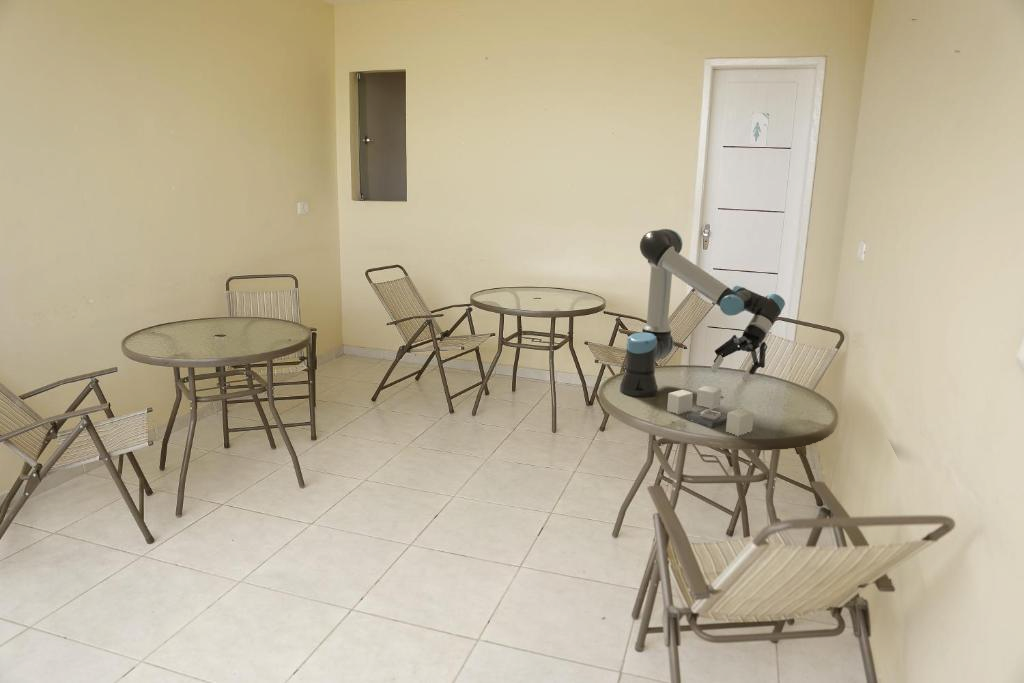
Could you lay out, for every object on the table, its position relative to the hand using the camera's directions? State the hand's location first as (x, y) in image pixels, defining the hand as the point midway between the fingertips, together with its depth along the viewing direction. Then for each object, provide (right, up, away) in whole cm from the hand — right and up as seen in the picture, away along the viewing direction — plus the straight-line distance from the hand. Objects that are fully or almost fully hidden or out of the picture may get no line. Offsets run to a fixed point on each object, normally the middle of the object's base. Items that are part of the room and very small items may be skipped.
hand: (728, 375), depth 250 cm
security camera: (-8, -15, -2) cm, 17 cm away
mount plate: (-8, -16, -2) cm, 18 cm away
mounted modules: (-8, -16, -2) cm, 18 cm away
